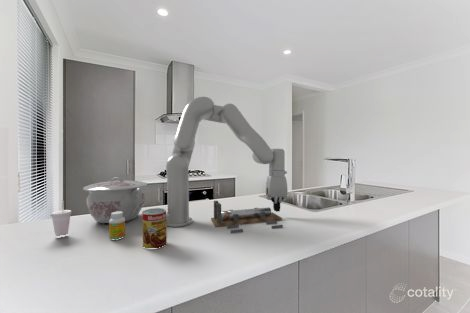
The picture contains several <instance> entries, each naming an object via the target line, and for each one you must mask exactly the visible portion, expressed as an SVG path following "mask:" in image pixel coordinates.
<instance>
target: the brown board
mask: <svg viewBox="0 0 470 313" xmlns="http://www.w3.org/2000/svg"><path fill="white" fill-rule="evenodd" d="M256 208H257V207H254V208H253V209H256ZM231 210H232V209H228V211H231ZM221 211H222V204H221V203H220V202H219V201H218V200H213V217H211V218H210V221H211V222H212V225H213V226H214V227H215V228H219V227H220V228H221V227H227V226H232V225H239V226H240V225H250V224H259V223H260V224H261V223H266V222H271V221H277V222H278V221H279V222H280V221H283V217H281V216H279V215H278V214H276V213H274V212H272V211H271V216H265V212H264V211H263V212H260V217H252V218H241V219H238V214H233V219H231V220H221Z"/></svg>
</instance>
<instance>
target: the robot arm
mask: <svg viewBox="0 0 470 313" xmlns="http://www.w3.org/2000/svg"><path fill="white" fill-rule="evenodd" d="M201 120H205V121H210V122H215V123H219V124H226V125H227V126H228V127H229V129H230V130H231V132H232V133H233V134H234V135H235V137H236V138H237V139H238V140H239V141H240V142H242V143H243V144H245V145H246V146H247V147H248V148H249V149H250V150H251V152H252V159H253V161H254V162H255V163H257V164H262V165H268V176H267V177H266V184H265V197H266V200H268V201H271V202H272V205H273V211H275V212H280V211H281V204H282V202H283V200H286V199H287V198H288V196H287V195H288V193H289V192H288V180H287V177H286V174H288V172H287V170H286V168H285V166H286V165H285V162H286V161H285V160H286V159H285V156H286V154H285V150H284V149H283V148H270V145H268V143H267V142H266V141H265V139H264V138H263V137H262V136H261V135H260V134H259V133H258V132H257V131H256V130H255V129H254V128H253V127H252V126H251V124H250V123H249V121H247V119H246V118H245V116H244V115H243V114H242V112H241V111H240V110H239V109H238V107H237V106H236V105H235V104H234V103H226V104H224V105H223V106H222V105H217V104H215V103H214V101H213V100H212V99H211V98H210V97H208V96H198V97H196V98H193V99H192V100H190V101H189V102H188V103H187V104H186V105H185V107H184V108H183V111H182V114H181V116H180V119H179V123H178V126H177V130H176V133H175V136H174V140H173V145H174V146H173V148H172V153H171V155H170V156H169V157H168V159H167V161H166V164H165V167H166V168H165V170H166V187H167V189H166V192H167V195H166V196H167V199H166V200H167V211H166V227H171V228H175V227H176V228H177V227H186V226H189V225H191V224H192V223H193V218H191V217H190V206H189V205H190V201H189V200H190V190H189V188H190V187H189V184H190V182H189V178H190V177H189V167H190V164H191V163H190V162H191V160H192V157H193V156H192V155H193V152H194V150H195V149H194V148H195V144H196V141H195V140H196V135H197V131H198V128H199V125H200V121H201Z"/></svg>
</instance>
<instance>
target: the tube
mask: <svg viewBox="0 0 470 313" xmlns="http://www.w3.org/2000/svg"><path fill="white" fill-rule="evenodd" d="M255 208H256V209H254V208H244V209H234V210H233V209H230V210H231V211H229V210H221V220H231V219H233V214H238V219H241V218H252V217H260V212H263V211H264V212H265V216H271V212H272V209H271V207H260V208H259V207H255Z"/></svg>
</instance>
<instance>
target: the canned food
mask: <svg viewBox="0 0 470 313" xmlns="http://www.w3.org/2000/svg"><path fill="white" fill-rule="evenodd" d="M141 213H142V214H141V215H142V220H141V221H142V227H141V228H142V248H143V247H145V248H159V247H162V246H164V245H166V246H167V244H166V243H167V238H168V236H167V226H166V214H167V209H166V208H159V207H158V208H157V207H156V208H149V209H145V210H143V211H142V212H141ZM164 247H165V246H164ZM162 248H163V247H162Z"/></svg>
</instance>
